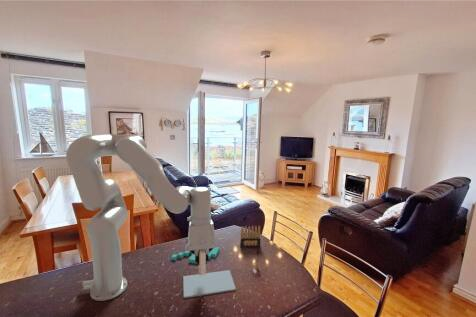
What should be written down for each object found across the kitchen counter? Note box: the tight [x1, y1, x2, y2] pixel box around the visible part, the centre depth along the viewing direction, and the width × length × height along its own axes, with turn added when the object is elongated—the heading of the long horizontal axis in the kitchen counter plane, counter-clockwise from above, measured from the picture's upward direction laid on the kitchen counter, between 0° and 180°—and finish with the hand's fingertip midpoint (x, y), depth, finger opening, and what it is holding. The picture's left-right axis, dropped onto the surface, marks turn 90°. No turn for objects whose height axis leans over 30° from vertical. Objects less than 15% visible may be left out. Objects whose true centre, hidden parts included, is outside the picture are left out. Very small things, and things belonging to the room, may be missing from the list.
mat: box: [182, 269, 237, 299], centre depth 94 cm, size 20×12×1 cm, turn 104°
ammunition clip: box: [239, 225, 261, 249], centre depth 123 cm, size 11×2×12 cm, turn 94°
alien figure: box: [170, 237, 221, 264], centre depth 118 cm, size 20×2×20 cm
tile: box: [198, 249, 207, 275], centre depth 92 cm, size 2×7×9 cm, turn 14°
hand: (201, 262), depth 92 cm, fingers closed on tile, 2 cm apart
